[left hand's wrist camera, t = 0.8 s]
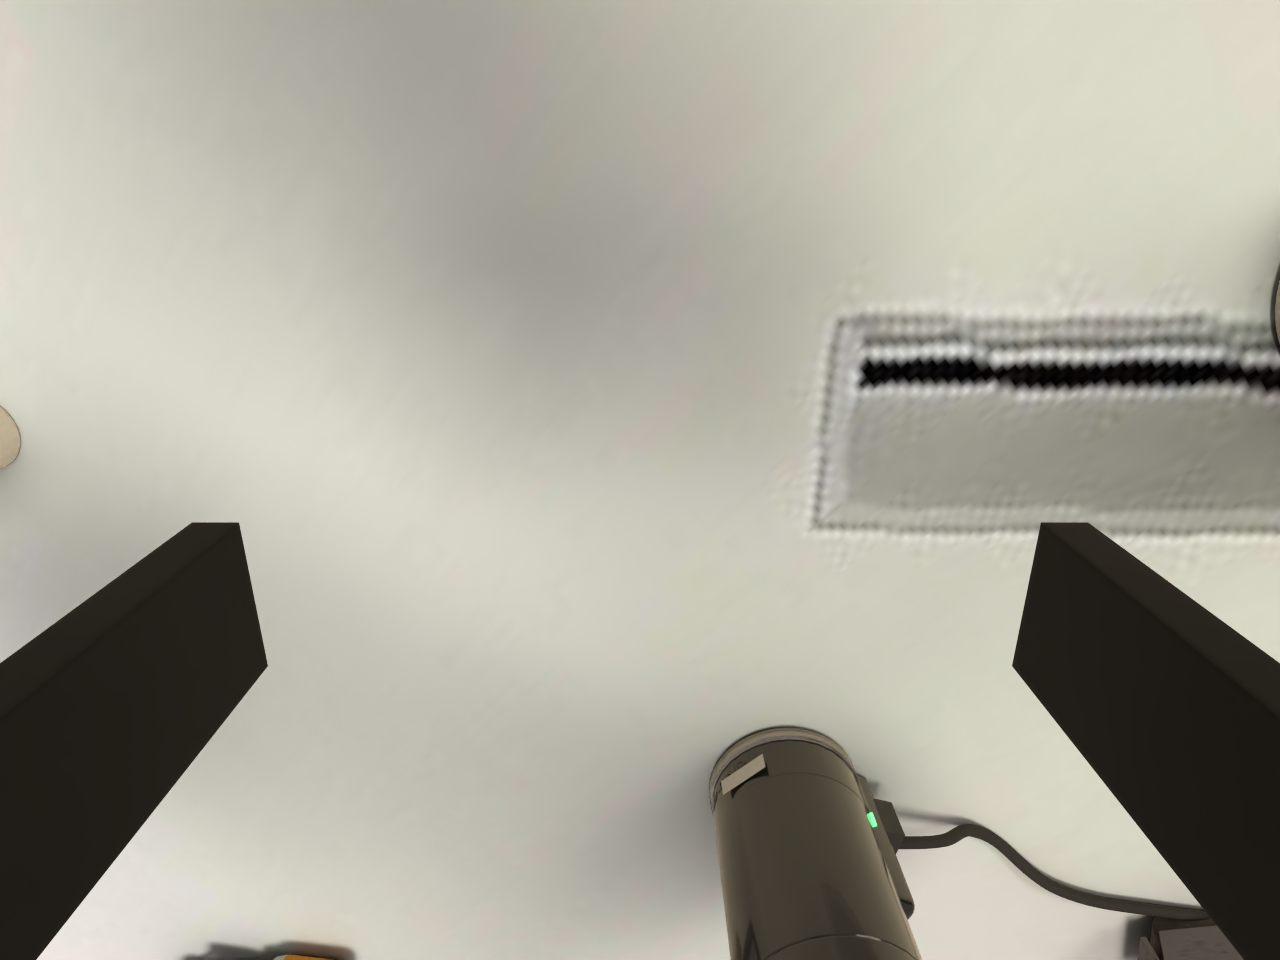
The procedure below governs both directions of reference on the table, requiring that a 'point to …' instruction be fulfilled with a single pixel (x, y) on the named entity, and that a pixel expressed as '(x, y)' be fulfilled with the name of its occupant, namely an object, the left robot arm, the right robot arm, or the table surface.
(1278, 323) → the bust sculpture
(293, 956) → the spray gun
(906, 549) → the table surface
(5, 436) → the cream bottle
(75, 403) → the table surface
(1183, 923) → the toy
